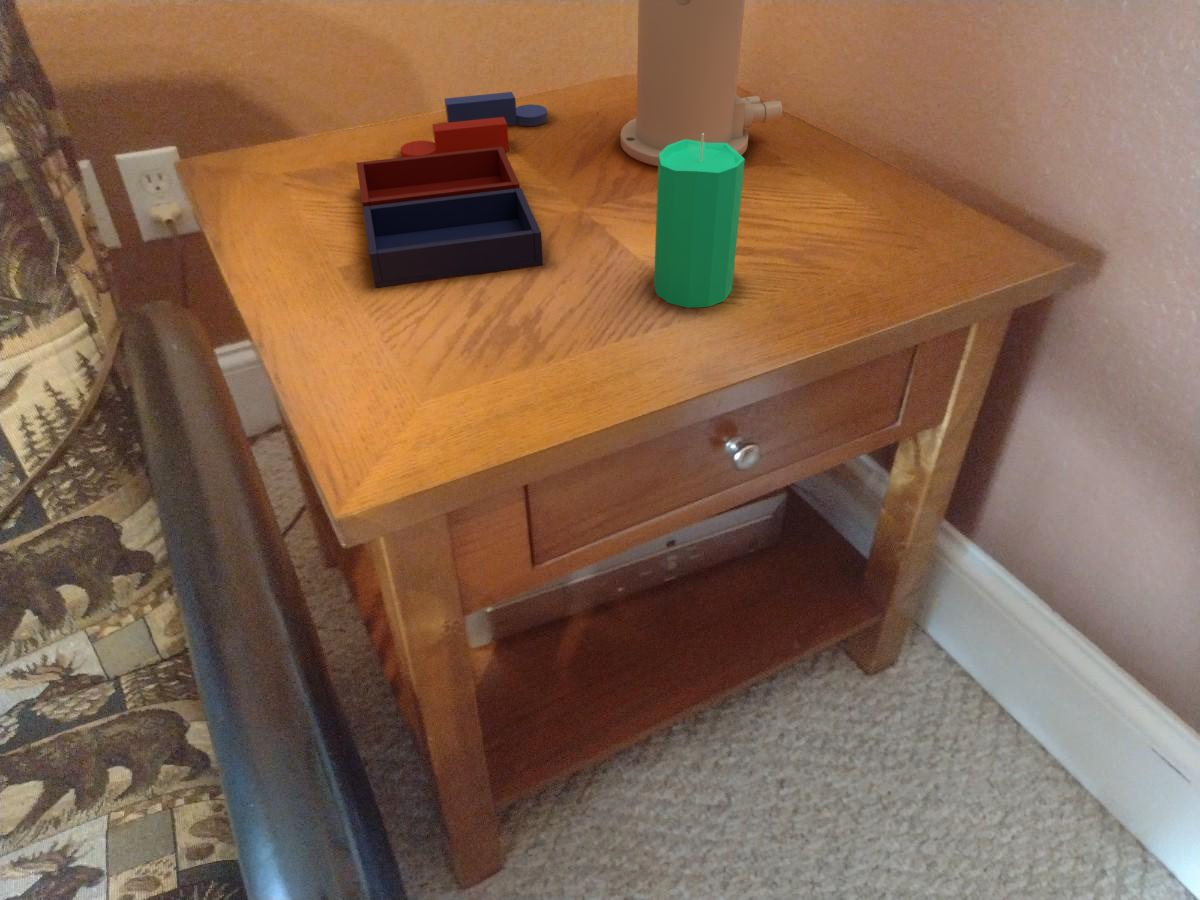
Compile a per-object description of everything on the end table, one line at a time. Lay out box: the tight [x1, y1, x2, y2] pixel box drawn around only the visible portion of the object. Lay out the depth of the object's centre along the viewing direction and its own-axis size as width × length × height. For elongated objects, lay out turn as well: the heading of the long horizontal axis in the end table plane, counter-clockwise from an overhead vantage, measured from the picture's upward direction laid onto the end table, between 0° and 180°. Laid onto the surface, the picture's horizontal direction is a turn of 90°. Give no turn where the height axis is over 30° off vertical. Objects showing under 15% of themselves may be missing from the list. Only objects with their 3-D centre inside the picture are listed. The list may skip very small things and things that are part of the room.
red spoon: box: [399, 117, 510, 158], centre depth 89 cm, size 10×4×3 cm, turn 105°
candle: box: [653, 133, 746, 309], centre depth 66 cm, size 6×6×12 cm
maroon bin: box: [355, 147, 521, 208], centre depth 80 cm, size 13×8×3 cm, turn 105°
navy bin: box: [362, 187, 544, 289], centre depth 74 cm, size 13×8×3 cm, turn 105°
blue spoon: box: [444, 91, 549, 127], centre depth 94 cm, size 10×4×3 cm, turn 105°
